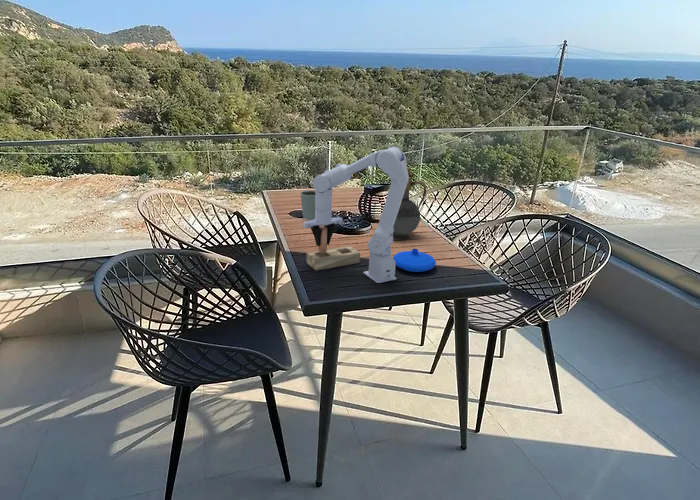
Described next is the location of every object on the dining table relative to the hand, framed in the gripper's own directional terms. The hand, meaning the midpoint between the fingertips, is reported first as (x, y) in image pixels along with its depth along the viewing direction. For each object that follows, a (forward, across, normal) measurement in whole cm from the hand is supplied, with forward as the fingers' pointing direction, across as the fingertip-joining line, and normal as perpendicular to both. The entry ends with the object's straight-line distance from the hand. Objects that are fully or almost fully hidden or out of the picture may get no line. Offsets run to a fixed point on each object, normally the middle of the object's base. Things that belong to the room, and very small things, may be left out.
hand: (322, 244), depth 162 cm
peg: (+3, 0, 0) cm, 3 cm away
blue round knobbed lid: (+8, -30, +16) cm, 35 cm away
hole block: (+8, -4, 0) cm, 9 cm away
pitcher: (+8, -46, -14) cm, 49 cm away
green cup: (+8, -22, -56) cm, 61 cm away
